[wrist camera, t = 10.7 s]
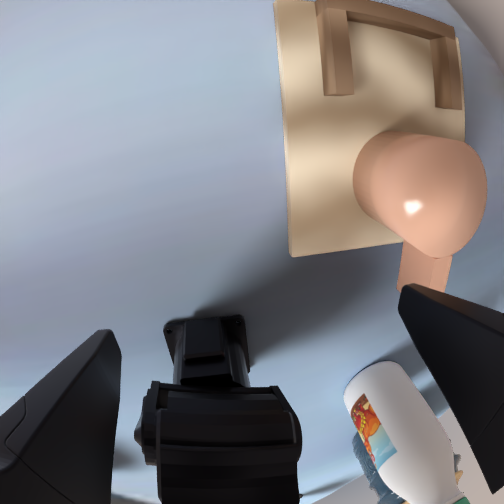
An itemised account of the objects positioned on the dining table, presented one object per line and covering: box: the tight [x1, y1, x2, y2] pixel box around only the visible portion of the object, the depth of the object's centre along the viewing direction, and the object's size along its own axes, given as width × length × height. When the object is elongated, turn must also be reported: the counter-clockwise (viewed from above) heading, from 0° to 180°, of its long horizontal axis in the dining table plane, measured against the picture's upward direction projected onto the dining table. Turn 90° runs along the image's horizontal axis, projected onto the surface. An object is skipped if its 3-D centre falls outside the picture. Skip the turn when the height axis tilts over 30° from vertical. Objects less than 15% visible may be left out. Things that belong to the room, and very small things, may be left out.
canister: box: [352, 432, 463, 504], centre depth 29 cm, size 13×13×18 cm
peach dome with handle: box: [353, 131, 487, 293], centre depth 18 cm, size 11×7×6 cm, turn 4°
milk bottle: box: [344, 361, 470, 504], centre depth 22 cm, size 8×8×20 cm
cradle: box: [273, 0, 465, 257], centre depth 18 cm, size 18×16×3 cm
